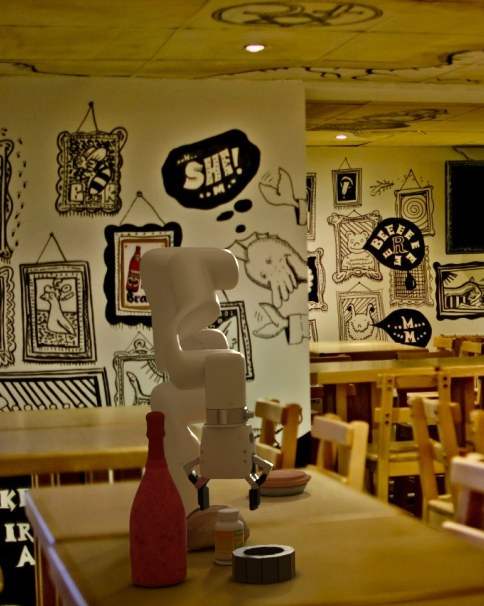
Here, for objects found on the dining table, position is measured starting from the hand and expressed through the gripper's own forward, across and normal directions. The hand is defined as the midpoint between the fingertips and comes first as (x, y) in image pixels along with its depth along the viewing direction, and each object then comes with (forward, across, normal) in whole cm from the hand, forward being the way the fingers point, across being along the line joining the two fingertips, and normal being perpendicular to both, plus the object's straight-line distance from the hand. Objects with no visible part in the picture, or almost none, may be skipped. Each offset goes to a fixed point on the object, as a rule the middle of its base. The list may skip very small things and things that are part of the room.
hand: (229, 509), depth 231 cm
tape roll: (+10, -10, +10) cm, 17 cm away
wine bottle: (+10, +8, +15) cm, 20 cm away
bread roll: (+10, +8, -14) cm, 19 cm away
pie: (+9, +14, -76) cm, 77 cm away
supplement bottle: (+10, 0, 0) cm, 10 cm away
